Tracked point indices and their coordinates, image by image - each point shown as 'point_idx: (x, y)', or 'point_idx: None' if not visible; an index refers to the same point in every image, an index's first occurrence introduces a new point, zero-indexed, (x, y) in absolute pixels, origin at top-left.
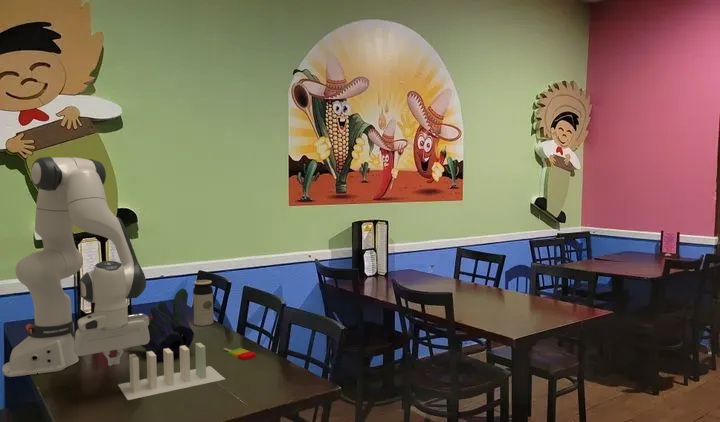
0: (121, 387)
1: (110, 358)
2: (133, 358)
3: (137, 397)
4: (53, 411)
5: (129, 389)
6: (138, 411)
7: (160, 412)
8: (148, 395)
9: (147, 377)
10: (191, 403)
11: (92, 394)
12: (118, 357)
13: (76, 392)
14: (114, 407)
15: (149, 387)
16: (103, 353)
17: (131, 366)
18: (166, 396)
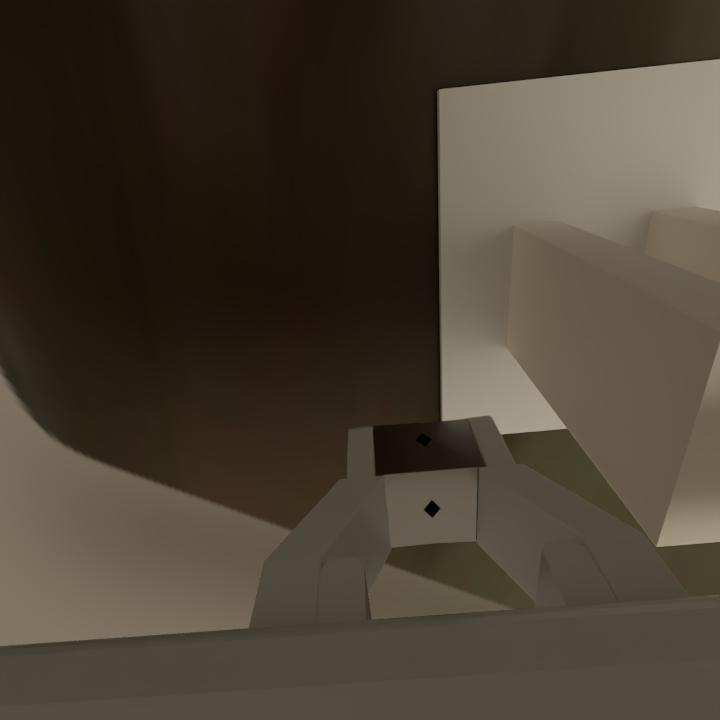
0: (452, 193)
1: (386, 495)
2: (683, 511)
3: (501, 427)
4: (22, 390)
5: (495, 269)
6: (459, 555)
7: None
8: (565, 427)
9: (690, 226)
10: (692, 568)
11: (231, 204)
12: (499, 555)
13: (87, 77)
14: None
15: None
16: (265, 577)
17: (605, 385)
18: None
